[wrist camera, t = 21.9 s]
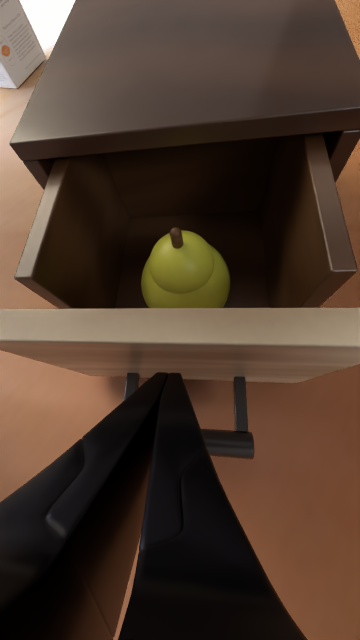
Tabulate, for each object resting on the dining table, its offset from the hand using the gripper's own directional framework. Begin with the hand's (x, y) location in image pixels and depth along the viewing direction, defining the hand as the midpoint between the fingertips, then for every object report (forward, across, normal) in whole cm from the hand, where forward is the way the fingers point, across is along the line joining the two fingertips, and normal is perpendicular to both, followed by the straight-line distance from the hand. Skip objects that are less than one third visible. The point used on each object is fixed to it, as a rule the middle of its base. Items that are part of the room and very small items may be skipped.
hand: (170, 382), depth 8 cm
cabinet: (+18, 0, -6) cm, 19 cm away
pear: (+8, 0, 0) cm, 8 cm away
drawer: (+9, 0, +1) cm, 9 cm away
